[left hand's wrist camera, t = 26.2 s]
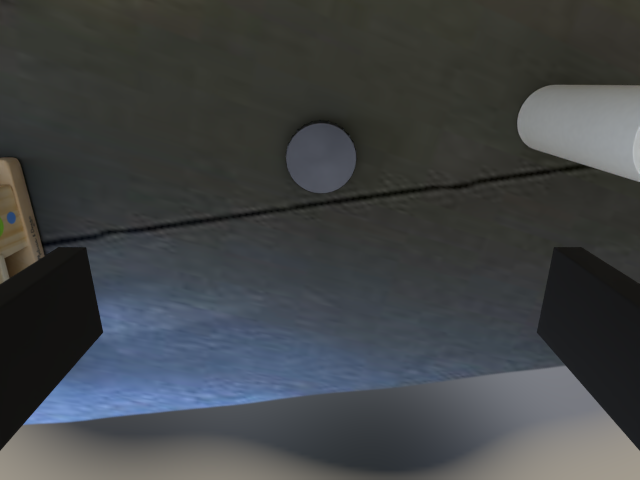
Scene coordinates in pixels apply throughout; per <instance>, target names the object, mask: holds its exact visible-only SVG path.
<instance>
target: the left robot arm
mask: <svg viewBox="0 0 640 480" xmlns="http://www.w3.org/2000/svg"><path fill="white" fill-rule="evenodd" d="M102 333H103V330H102V325H101V320H100V315H99V310H98V305H97V300H96V295H95V290H94V285H93V280H92V275H91V270H90V265H89V260H88V255H87V250H86V247H58V248H57V249H55V250H54V251H52V252H50V253H49V254H47V255H46V256H44V257H42V258H41V259H39V260H38V261H36V262H35V263H33V264H31V265H30V266H28V267H27V268H25V269H23V270H22V271H20V272H19V273H17V274H15V275H14V276H12V277H11V278H9V279H7V280H6V281H4V282H3V283H1V284H0V450H1V449H2V448H3V447H4V446H5V445H6V443H7V442H8V441H9V440H10V439H11V438H12V436H13V435H14V434H15V433H16V432H17V431H18V430H19V428H20V427H21V426H22V425H23V424H24V423H25V422H26V420H27V419H28V418H29V417H30V416H31V415H32V414H33V412H34V411H35V410H36V409H37V408H38V407H39V405H40V404H41V403H42V402H43V401H44V400H45V399H46V397H47V396H48V395H49V394H50V393H51V392H52V391H53V389H54V388H55V387H56V386H57V385H58V384H59V382H60V381H61V380H62V379H63V378H64V377H65V376H66V374H67V373H68V372H69V371H70V370H71V369H72V368H73V366H74V365H75V364H76V363H77V362H78V361H79V359H80V358H81V357H82V356H83V355H84V354H85V353H86V351H87V350H88V349H89V348H90V347H91V346H92V345H93V343H94V342H95V341H96V340H97V339H98V338H99V336H100V335H101V334H102ZM537 333H538V334H539V335H540V336H541V338H542V339H543V340H544V341H545V342H546V343H547V345H548V346H549V347H550V348H551V349H552V350H553V351H554V353H555V354H556V355H557V356H558V357H559V358H560V359H561V361H562V362H563V363H564V364H565V365H566V366H567V367H568V369H569V370H570V371H571V372H572V373H573V374H574V376H575V377H576V378H577V379H578V380H579V381H580V382H581V384H582V385H583V386H584V387H585V388H586V389H587V391H588V392H589V393H590V394H591V395H592V396H593V397H594V399H595V400H596V401H597V402H598V403H599V404H600V405H601V407H602V408H603V409H604V410H605V411H606V412H607V414H608V415H609V416H610V417H611V418H612V419H613V420H614V422H615V423H616V424H617V425H618V426H619V427H620V428H621V430H622V431H623V432H624V433H625V434H626V435H627V436H628V438H629V439H630V440H631V441H632V442H633V443H634V445H635V446H636V447H637V448H638V449H639V450H640V284H639V283H637V282H636V281H634V280H633V279H631V278H629V277H628V276H626V275H625V274H623V273H621V272H620V271H618V270H617V269H615V268H613V267H612V266H610V265H609V264H607V263H605V262H604V261H602V260H601V259H599V258H598V257H596V256H594V255H593V254H591V253H590V252H588V251H586V250H585V249H583V248H582V247H554V250H553V255H552V260H551V265H550V270H549V275H548V280H547V285H546V290H545V295H544V300H543V305H542V310H541V315H540V320H539V325H538V330H537Z"/></svg>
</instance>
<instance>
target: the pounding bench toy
mask: <svg viewBox="0 0 640 480" xmlns="http://www.w3.org/2000/svg"><path fill="white" fill-rule="evenodd" d="M42 257H44V252H43V248H42V244H41V240H40V236H39V232H38V228H37V225H36V221H35V217H34V214H33V210H32V206H31V202H30V198H29V195H28V191H27V187H26V183H25V180H24V176H23V172H22V168H21V165H20V163H19V161H18V159H16V158H13V157H0V284H1V283H3V282H4V281H6V280H7V279H9V278H11V277H12V276H14V275H15V274H17V273H19V272H20V271H22V270H23V269H25V268H27V267H28V266H30V265H31V264H33V263H35V262H36V261H38V260H39V259H41V258H42Z"/></svg>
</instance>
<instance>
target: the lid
mask: <svg viewBox="0 0 640 480" xmlns="http://www.w3.org/2000/svg"><path fill="white" fill-rule="evenodd" d="M291 138H292V139H291V141H290V142H289V143H288V145H287V146H288V148H287V151H286V163H287V168H288V171H289V173H290V175H291V177H292V179H293V180H294V181H295V182H296V183H297V184H298V185H299V186H300V187H302V188H303V189H305V190H307V191H309V192H313V193H329V192H333V191H335V190H337V189H339V188H341V187H342V186H344V185H345V184H346V183H347V182H348V180H349V179H350V178H351V176H352V175H353V172H354V170H355V166H356V160H357V158H356V149H355V147H354V142H353V140H351V138H350V135H349V133H348V134H347V133H346V131H345V130H344V128H343V127H342V128H341V127H340V126H338V125H337V123H335V124H334V123H331V122H329V121H321V120H319V121H315V122H313V121H311V123H308V124H306V125H305V124H304V126H303V127H301V128H300V129H297V132H296V133H295V134H294V135H292V137H291Z"/></svg>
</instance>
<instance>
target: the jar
mask: <svg viewBox="0 0 640 480" xmlns="http://www.w3.org/2000/svg"><path fill="white" fill-rule="evenodd" d="M517 128H518V133H519V135H520V137H521V139H522V141H523V142H524V143H525V144H526V145H527V146H529V147H530V148H532V149H535V150H538V151H541V152H545V153H548V154H551V155H554V156H558V157H561V158H564V159H567V160H570V161H574V162H577V163H580V164H583V165H587V166H590V167H593V168H596V169H599V170H603V171H606V172H609V173H612V174H616V175H619V176H622V177H625V178H628V179H632V180H635V181H638V182H640V85H549V86H545V87H542V88H540V89H538V90H537V91H535V92H534V93H532V94H531V95H530V96H529V97H528V98H527V99H526V101H525V102H524V103H523V105H522V107H521V109H520V111H519V114H518V119H517Z"/></svg>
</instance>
